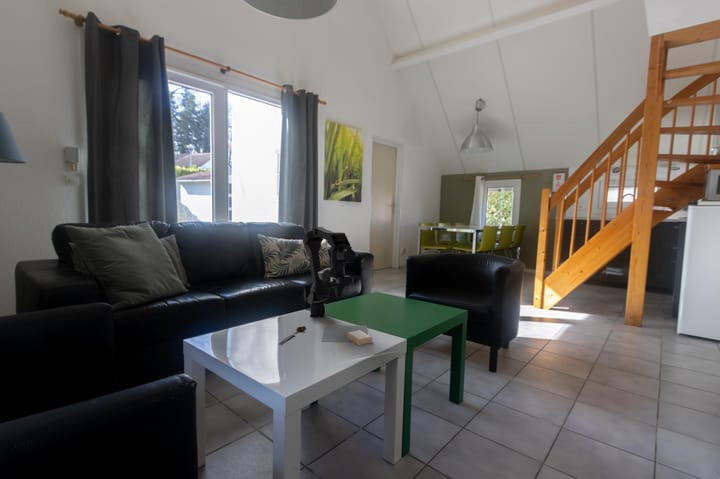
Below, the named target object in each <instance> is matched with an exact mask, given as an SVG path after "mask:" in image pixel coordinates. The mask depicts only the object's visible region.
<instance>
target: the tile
mask: <svg viewBox="0 0 720 479" xmlns="http://www.w3.org/2000/svg"><path fill="white" fill-rule="evenodd" d="M347 338H348V339H350V340H352V341H353V342H352V343H354V344H356V345H358V346H361V345H366V344H371V343H373V336H372V335H369V333H368V334H366V333H364V332H362V331H361V330H358V331H353V332H347Z"/></svg>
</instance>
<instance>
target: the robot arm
mask: <svg viewBox="0 0 720 479" xmlns="http://www.w3.org/2000/svg"><path fill="white" fill-rule="evenodd" d="M324 240H325V241H327V242H326V243H327V244H328V245H329V246H330V248H329V249H328V251H329V252H330V263H329V265H328V268H324V269H323V270H322V266H321V258H320V250H321V248H322V243H323V241H324ZM302 244H303V247H304V250H305V251H306V253H308V256H309V258H308V259H309V265H310V272H311V279H312V285H311V286H310V289H309V290H310V292H309V295H308V296H307V298H306V299H307V304H309V305H310V315H309V318H324V317H325V315H326V311H327V310H326V309H327V308H326V307H327V306H326V304H328V302H329V299H330V291H329V285H328V283H329V284H331V285H332V287H333V290H334V293H335V297H336V299H340V298H341V296H342V293H343V291H344V289H345V287H346V285H347V284H353V283H354V277H352V276H351V275H347V273H345V268H346V267H347V264H352V263H354V262H355V261H356V258H357V254H356V252H355V250H353V248H352V246H351V243H350V241H349V239H348V236H347V235H346V233H345V232H335V231H331V230H329V229H326V228H325V227H323V226H314V227H312V228H311V230H310V231H308V232H306V233H305V234H304V237H303V238H302ZM328 280H329V281H328ZM324 281H328V283H326V282H324Z"/></svg>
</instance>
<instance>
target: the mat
mask: <svg viewBox="0 0 720 479" xmlns="http://www.w3.org/2000/svg"><path fill="white" fill-rule="evenodd" d="M358 330H361V331H362V332H364V333H366V334H368V335H369V329H368V325H348V324H347V325H346V324H345V325H344V324H343V325H342V324H341V325H340V324H325V326H324V330H323V333H322V334H323V335H322V338H321V342H322V343H323V342H324V343H354V342H353V341H352V340H350V339H348V338H347V332H353V331H358Z"/></svg>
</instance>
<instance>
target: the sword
mask: <svg viewBox="0 0 720 479" xmlns="http://www.w3.org/2000/svg"><path fill="white" fill-rule="evenodd" d="M295 330H296V331H295V332H293V333H292V334H290V335H289V336H287V337H286V338H284V339H283V340H281V341H280V342H279V343H278V345H280V346H283V345H284V344H286V342H288V340H290V339H291V338H293V337H294V336H295V335H297V334H299V333H304V332H306V330H307V327H306V325H302V326H297V328H296V329H295Z"/></svg>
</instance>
